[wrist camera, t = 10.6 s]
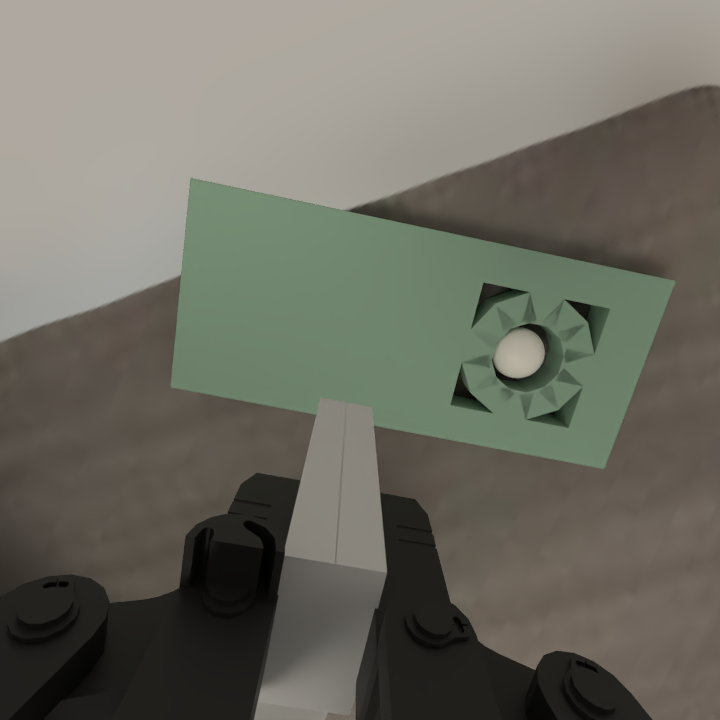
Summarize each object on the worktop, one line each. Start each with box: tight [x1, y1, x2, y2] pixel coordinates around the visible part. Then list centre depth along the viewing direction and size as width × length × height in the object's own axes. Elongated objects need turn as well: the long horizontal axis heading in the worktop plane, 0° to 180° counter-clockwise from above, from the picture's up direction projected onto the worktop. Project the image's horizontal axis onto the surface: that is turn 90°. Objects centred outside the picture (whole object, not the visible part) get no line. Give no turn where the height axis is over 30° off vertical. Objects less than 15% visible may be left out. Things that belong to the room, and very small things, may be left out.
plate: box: [170, 178, 676, 469], centre depth 31 cm, size 32×14×2 cm, turn 79°
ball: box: [492, 327, 545, 378], centre depth 31 cm, size 4×4×4 cm
